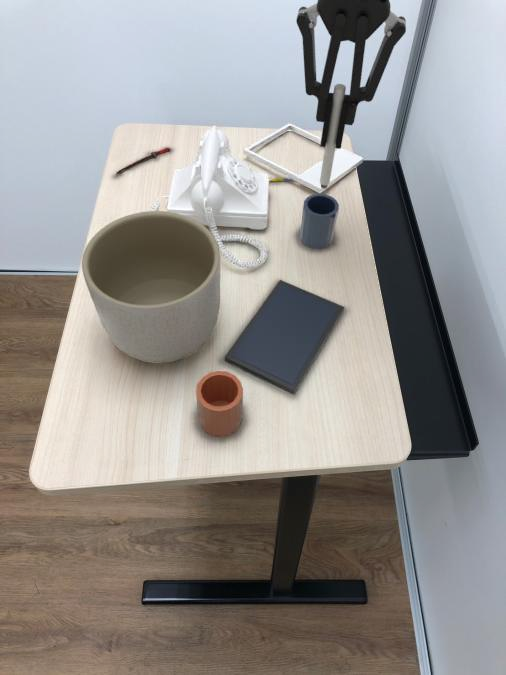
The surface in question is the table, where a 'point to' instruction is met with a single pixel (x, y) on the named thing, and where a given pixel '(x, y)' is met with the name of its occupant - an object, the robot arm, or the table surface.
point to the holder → (318, 220)
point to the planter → (155, 284)
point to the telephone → (221, 193)
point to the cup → (220, 403)
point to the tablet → (285, 336)
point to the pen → (279, 179)
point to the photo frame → (311, 177)
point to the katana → (144, 159)
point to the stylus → (332, 134)
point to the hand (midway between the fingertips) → (331, 141)
